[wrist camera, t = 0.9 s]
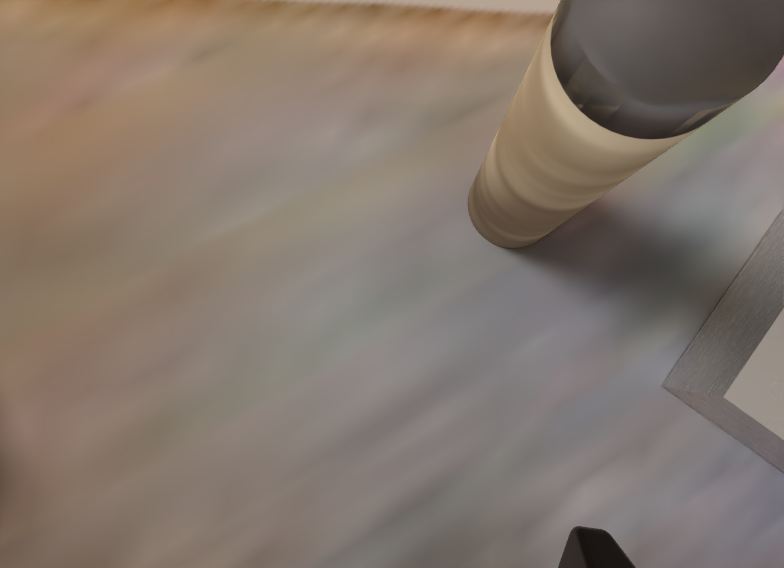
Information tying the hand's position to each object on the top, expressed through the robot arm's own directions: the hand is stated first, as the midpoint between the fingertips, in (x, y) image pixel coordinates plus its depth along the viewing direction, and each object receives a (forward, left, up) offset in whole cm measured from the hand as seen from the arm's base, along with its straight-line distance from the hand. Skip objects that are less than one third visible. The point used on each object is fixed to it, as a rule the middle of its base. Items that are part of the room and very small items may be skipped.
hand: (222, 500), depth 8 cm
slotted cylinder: (+4, -8, -13) cm, 16 cm away
